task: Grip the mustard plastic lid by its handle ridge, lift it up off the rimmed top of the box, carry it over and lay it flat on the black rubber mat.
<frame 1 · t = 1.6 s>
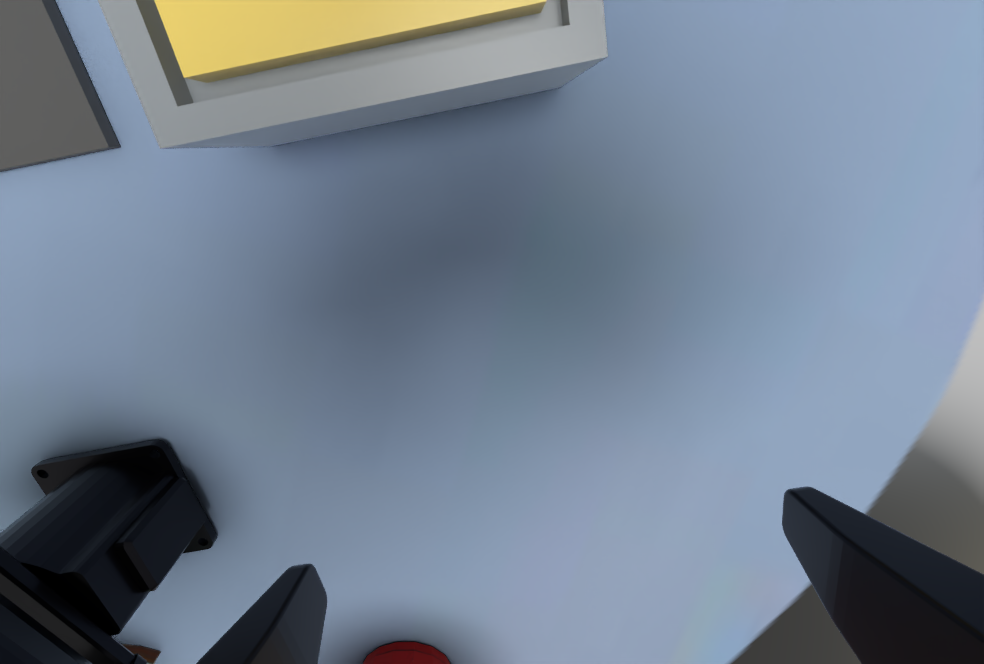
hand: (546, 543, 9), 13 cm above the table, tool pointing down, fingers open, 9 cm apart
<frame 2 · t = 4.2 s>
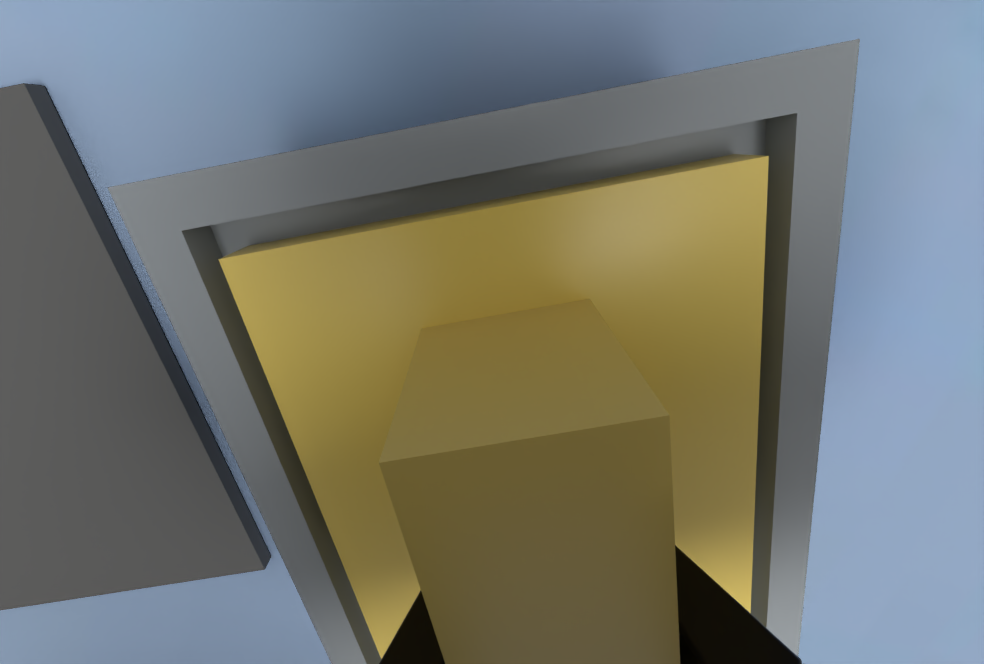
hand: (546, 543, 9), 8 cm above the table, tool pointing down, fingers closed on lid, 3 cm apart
box: (517, 366, 16), on the table
lid: (537, 488, 10), point 6 cm above the table, touching box, gripper
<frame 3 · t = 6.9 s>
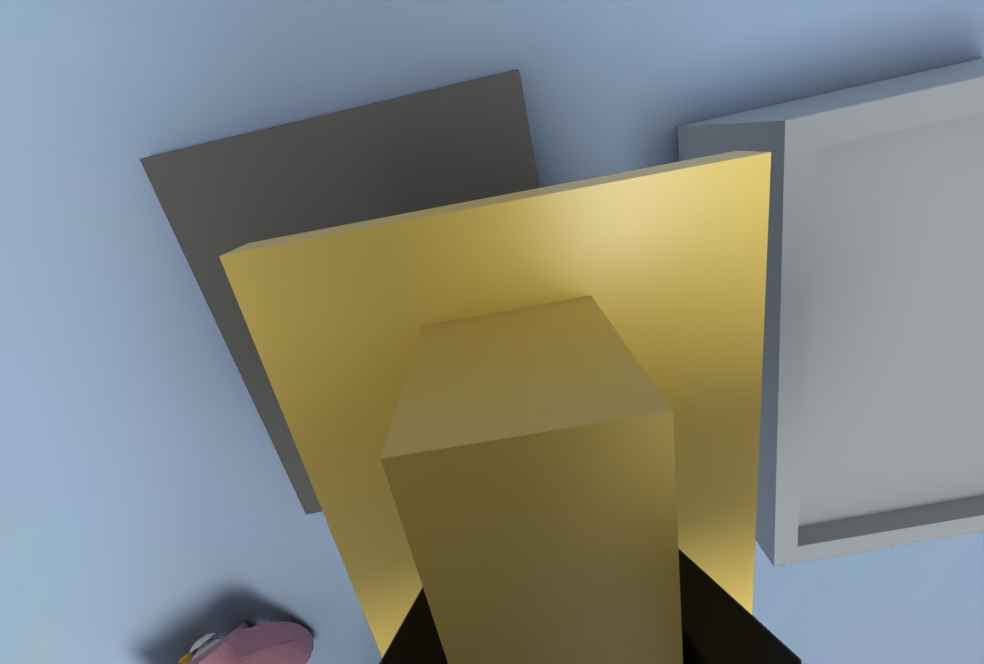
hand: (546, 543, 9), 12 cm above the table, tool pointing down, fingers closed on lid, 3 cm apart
box: (816, 285, 20), on the table
mat: (395, 326, 20), on the table
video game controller: (232, 639, 28), on the table
lid: (538, 486, 10), point 11 cm above the table, touching gripper
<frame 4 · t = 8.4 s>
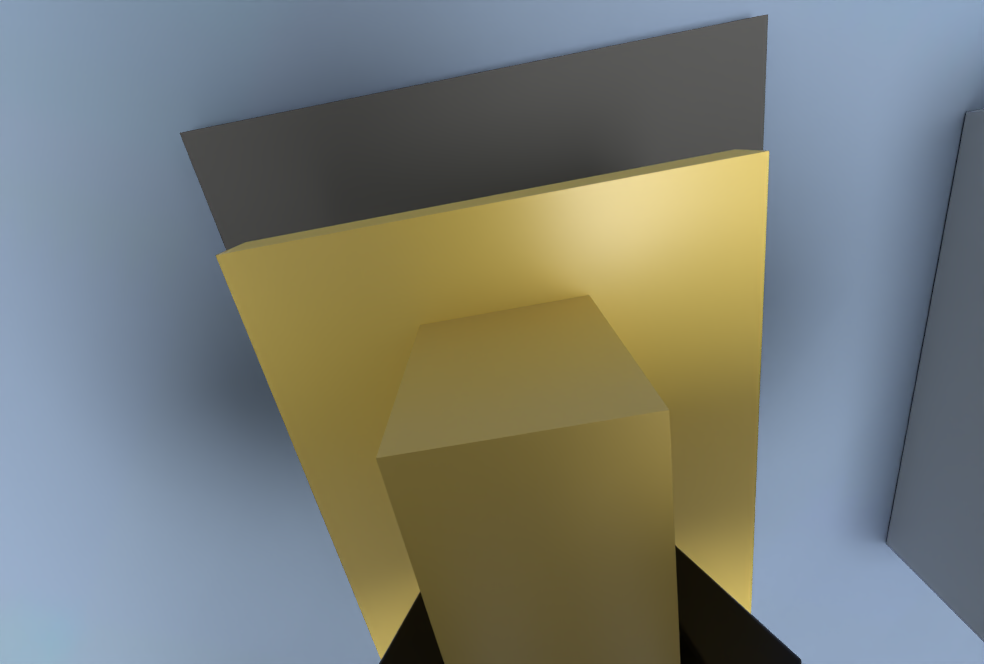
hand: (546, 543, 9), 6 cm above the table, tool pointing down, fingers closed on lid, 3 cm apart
mat: (519, 379, 15), on the table
lid: (536, 486, 10), point 5 cm above the table, touching gripper
when the fingers open (3 cm above the table, at t = 9.6 s): lid drops 1 cm, resting on mat.
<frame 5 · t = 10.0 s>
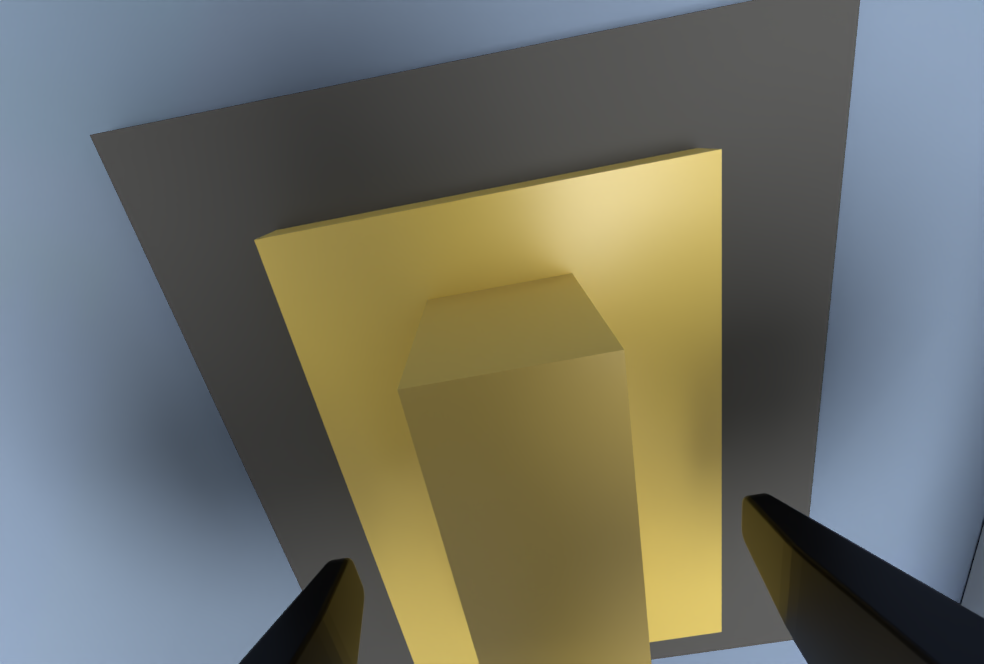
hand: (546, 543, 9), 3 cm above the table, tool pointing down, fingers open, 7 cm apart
mat: (528, 435, 12), on the table
lid: (530, 448, 12), point 1 cm above the table, touching mat
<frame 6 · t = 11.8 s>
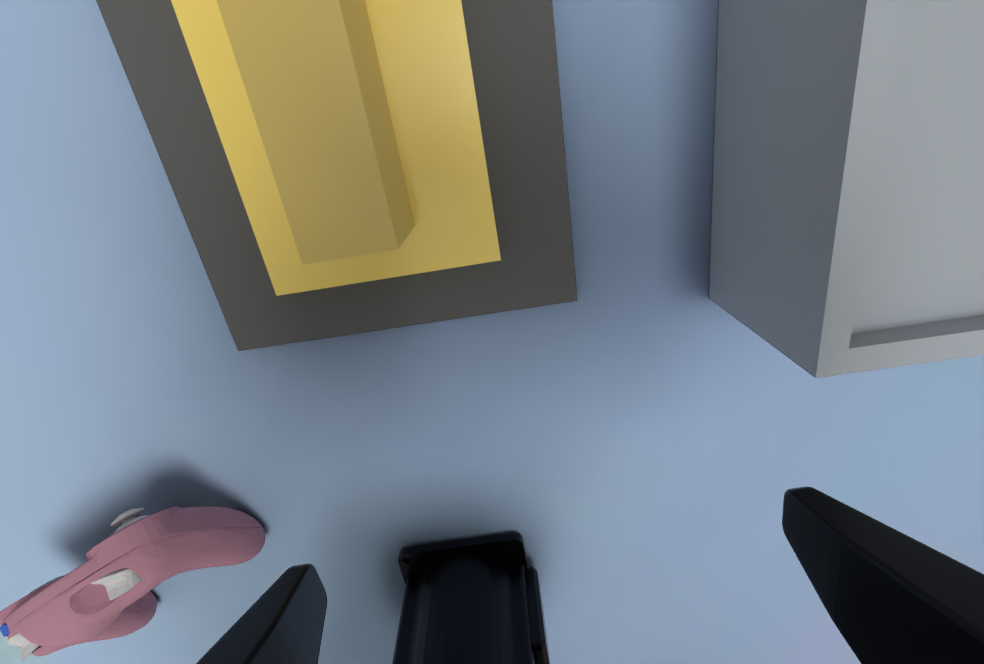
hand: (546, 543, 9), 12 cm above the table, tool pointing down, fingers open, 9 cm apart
box: (875, 72, 16), on the table
mat: (353, 95, 16), on the table
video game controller: (171, 532, 24), on the table
lid: (348, 93, 16), point 1 cm above the table, touching mat
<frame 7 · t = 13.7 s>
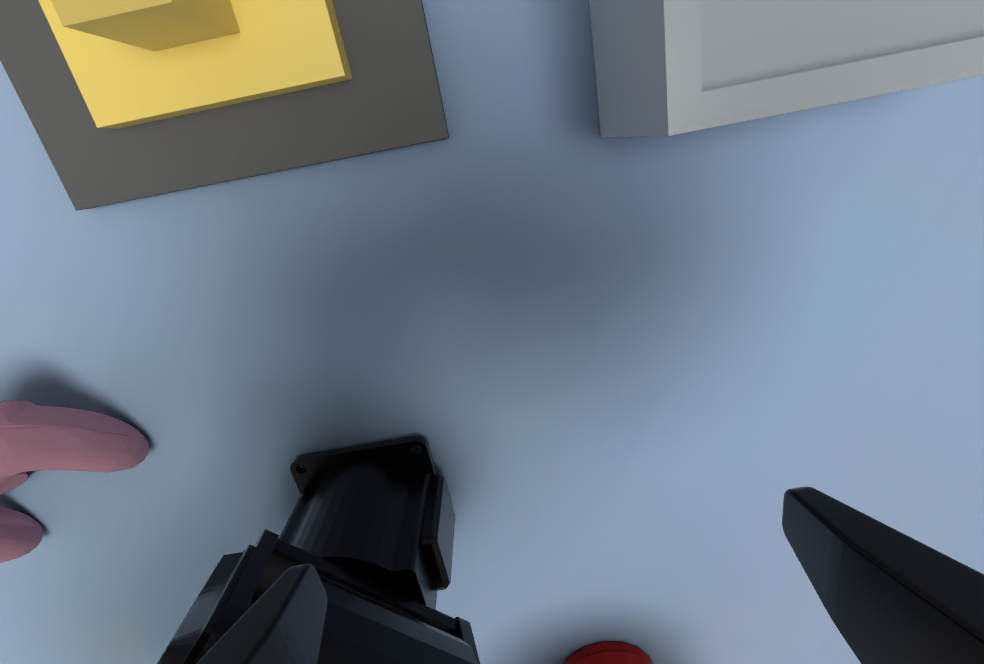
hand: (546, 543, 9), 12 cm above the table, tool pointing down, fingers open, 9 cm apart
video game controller: (51, 450, 22), on the table
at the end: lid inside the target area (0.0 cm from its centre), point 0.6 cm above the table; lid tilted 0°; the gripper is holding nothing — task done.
